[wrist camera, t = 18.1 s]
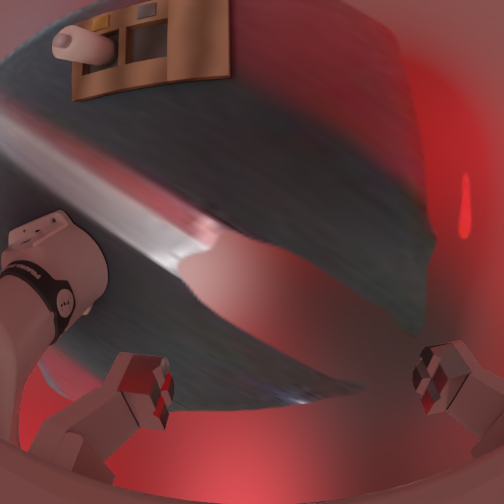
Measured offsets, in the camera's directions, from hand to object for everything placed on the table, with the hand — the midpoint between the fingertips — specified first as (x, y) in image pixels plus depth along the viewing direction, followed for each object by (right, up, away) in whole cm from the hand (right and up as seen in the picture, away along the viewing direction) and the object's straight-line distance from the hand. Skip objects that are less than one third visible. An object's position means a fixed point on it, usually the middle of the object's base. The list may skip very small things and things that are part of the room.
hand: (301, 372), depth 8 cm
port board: (-15, +30, +21) cm, 39 cm away
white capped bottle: (-21, +30, +21) cm, 42 cm away
